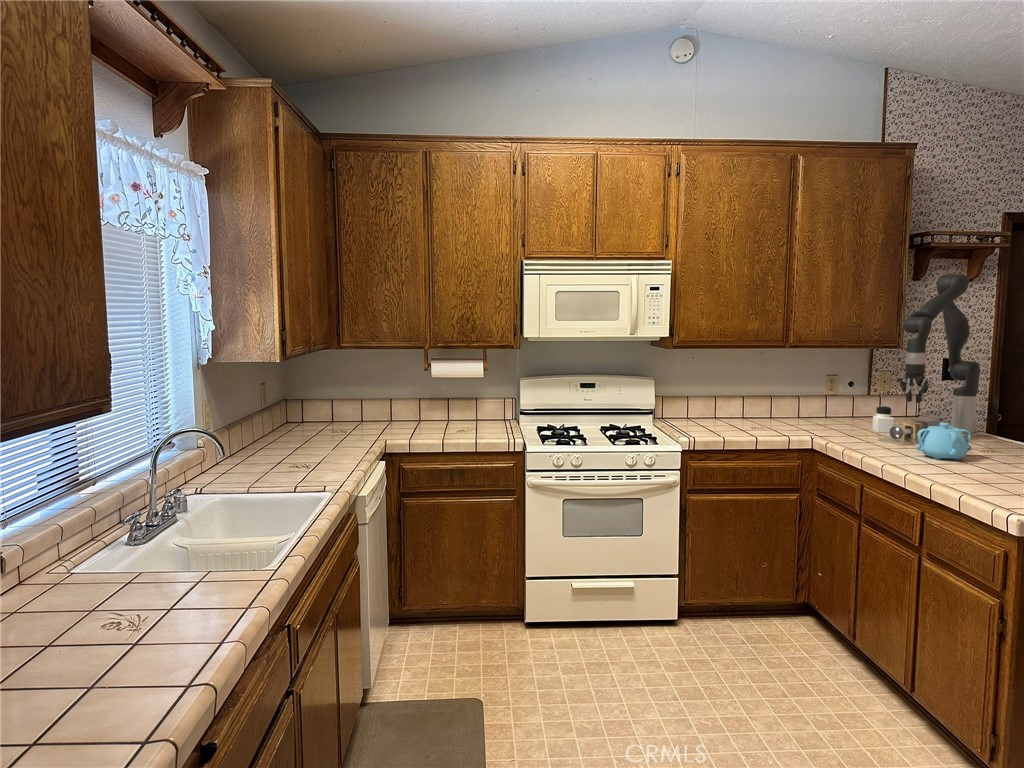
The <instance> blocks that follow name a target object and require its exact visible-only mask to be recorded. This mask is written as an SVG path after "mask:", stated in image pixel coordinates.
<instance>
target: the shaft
mask: <svg viewBox="0 0 1024 768" xmlns="http://www.w3.org/2000/svg"><path fill="white" fill-rule="evenodd" d="M922 429H923V427H922ZM922 433H923V432H922ZM905 434H913V428H909V429H903V427H901V426H898V425H894V426H893V427H892V428H891V429H890V433H889V435H890V437H892V438H894V439H900V438H902V436H903V435H905Z"/></svg>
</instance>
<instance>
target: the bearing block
mask: <svg viewBox="0 0 1024 768" xmlns="http://www.w3.org/2000/svg"><path fill="white" fill-rule="evenodd" d="M910 422H916V423H922V427H923V429H927V428H928V427H929V426H940V423H941V420H940V419H934V418H929V417H918V418H910ZM911 428H913V426H911ZM924 433H925V431H924V432H923V433H921V438H922V436H923V434H924ZM877 441H879V442H884V443H888V444H893V445H899V446H910V445H917V444H920V443H919V440H918V439H913V434H911V437H902V438H900V439H894V438H892V437H891V436H883V437H878V440H877Z"/></svg>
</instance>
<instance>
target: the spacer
mask: <svg viewBox="0 0 1024 768" xmlns="http://www.w3.org/2000/svg"><path fill="white" fill-rule="evenodd" d="M911 426H913V439H918V436H917V434H918V432H919V431H920V430H921V429H922V423H916V422H911V421H903V422H902V429H909V428H911ZM902 437H911V434H905V435H903V436H902Z"/></svg>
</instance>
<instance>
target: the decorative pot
mask: <svg viewBox="0 0 1024 768" xmlns="http://www.w3.org/2000/svg"><path fill="white" fill-rule="evenodd" d="M924 431H925V433H924V434H923V436H922V438H921V433H922V432H924ZM962 432H966V433H965V434H966V438H965V436H964V433H962ZM917 436H918V440H919V443H920V444H915V448H916V450H917V451H920V452H922V453H923V454H924V455H925V456H926V455H927V456H926V457H932V458H933V460H936V461H940V460H942V459H951V460H953V461H960V459H963V458H965V456H967V454H968V452H971V451H972V445H970V444H969V443H970V440H971V438H972V433H970V432H969V431H967V430H965V429H958V428H954V427H951V426H950V423H949V422H940V426H929V427H928V428H927V429H921V430H920V431H919V432H918V434H917Z"/></svg>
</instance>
